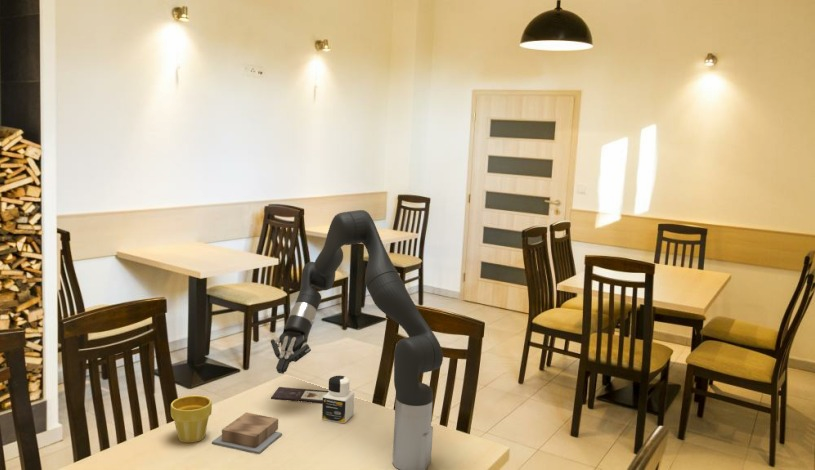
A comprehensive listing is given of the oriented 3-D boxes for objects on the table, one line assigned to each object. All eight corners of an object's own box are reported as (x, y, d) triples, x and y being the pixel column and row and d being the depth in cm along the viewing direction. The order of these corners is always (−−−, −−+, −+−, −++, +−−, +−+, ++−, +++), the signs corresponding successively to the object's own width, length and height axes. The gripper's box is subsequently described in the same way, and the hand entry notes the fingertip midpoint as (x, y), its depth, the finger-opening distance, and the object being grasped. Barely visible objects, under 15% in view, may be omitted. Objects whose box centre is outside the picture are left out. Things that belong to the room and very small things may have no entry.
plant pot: (162, 437, 178) (162, 401, 177) (197, 425, 186) (197, 391, 185) (184, 450, 172) (184, 413, 170) (219, 437, 179) (219, 402, 178)
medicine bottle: (321, 419, 194) (322, 380, 192) (331, 410, 201) (332, 372, 199) (344, 424, 192) (346, 384, 190) (353, 414, 199) (355, 375, 197)
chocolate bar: (279, 386, 216) (334, 391, 214) (278, 389, 216) (334, 394, 214) (270, 397, 207) (328, 402, 205) (270, 400, 207) (328, 405, 205)
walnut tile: (278, 418, 184) (255, 436, 173) (278, 429, 185) (255, 448, 173) (246, 412, 187) (221, 429, 176) (245, 423, 188) (221, 440, 176)
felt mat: (282, 435, 183) (282, 432, 183) (259, 454, 172) (259, 451, 171) (236, 425, 187) (236, 423, 187) (211, 443, 176) (211, 441, 176)
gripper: (276, 311, 202) (254, 363, 192) (316, 316, 198) (296, 369, 188) (285, 324, 208) (264, 375, 198) (324, 329, 204) (304, 381, 194)
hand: (280, 372), depth 193 cm, fingers closed
